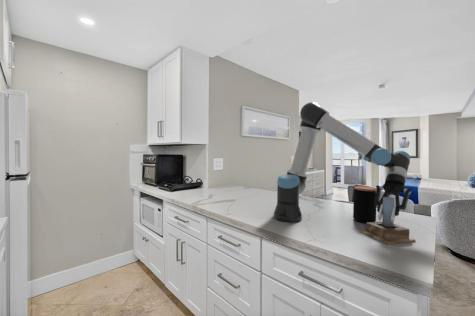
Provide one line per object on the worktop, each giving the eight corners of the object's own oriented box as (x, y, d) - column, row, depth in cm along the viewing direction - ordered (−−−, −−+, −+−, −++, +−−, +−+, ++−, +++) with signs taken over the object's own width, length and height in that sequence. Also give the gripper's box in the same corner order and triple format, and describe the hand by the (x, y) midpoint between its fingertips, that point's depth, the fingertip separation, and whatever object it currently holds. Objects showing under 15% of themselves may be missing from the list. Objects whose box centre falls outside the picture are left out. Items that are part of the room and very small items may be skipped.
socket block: (360, 232, 102) (361, 221, 102) (385, 230, 105) (385, 220, 105) (387, 244, 88) (388, 232, 88) (415, 241, 91) (415, 230, 91)
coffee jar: (372, 219, 123) (373, 186, 122) (378, 225, 112) (380, 189, 112) (351, 217, 125) (351, 185, 125) (355, 223, 115) (356, 188, 115)
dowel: (380, 224, 98) (380, 197, 98) (387, 223, 99) (388, 196, 98) (388, 227, 94) (388, 199, 94) (395, 226, 95) (396, 198, 95)
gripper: (419, 185, 100) (411, 229, 89) (376, 181, 113) (365, 220, 102) (418, 174, 97) (409, 219, 86) (374, 171, 109) (361, 210, 98)
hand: (385, 219), depth 94 cm, fingers closed on dowel, 4 cm apart
